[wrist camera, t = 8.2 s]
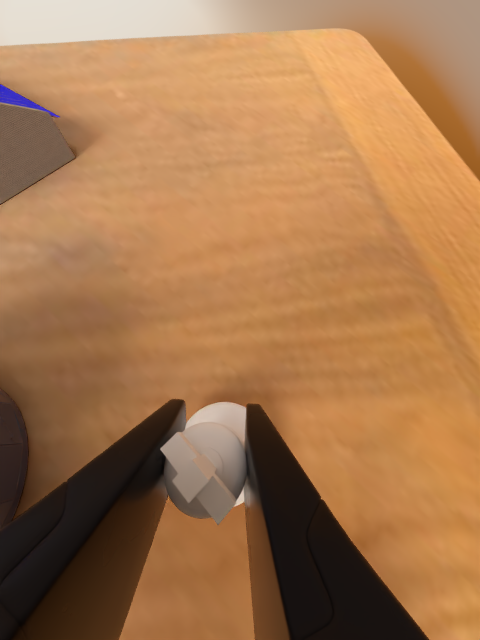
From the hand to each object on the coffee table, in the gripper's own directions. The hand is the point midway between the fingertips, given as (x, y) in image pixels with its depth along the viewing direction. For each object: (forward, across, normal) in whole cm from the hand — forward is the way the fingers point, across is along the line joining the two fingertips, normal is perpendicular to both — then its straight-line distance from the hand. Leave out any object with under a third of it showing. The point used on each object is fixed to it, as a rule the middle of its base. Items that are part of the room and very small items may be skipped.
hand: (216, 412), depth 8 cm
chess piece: (+4, 0, +6) cm, 7 cm away
